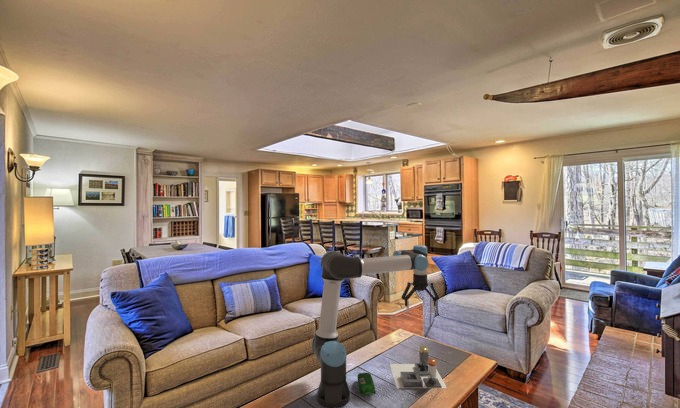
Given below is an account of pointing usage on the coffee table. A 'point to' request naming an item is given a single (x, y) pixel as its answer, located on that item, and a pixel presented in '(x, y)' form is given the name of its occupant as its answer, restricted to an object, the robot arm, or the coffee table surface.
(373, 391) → the snack package
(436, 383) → the pin pad
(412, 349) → the coffee table surface
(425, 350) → the cylinder
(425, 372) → the socket
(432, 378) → the lock pin
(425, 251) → the robot arm
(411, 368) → the dock board
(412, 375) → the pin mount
